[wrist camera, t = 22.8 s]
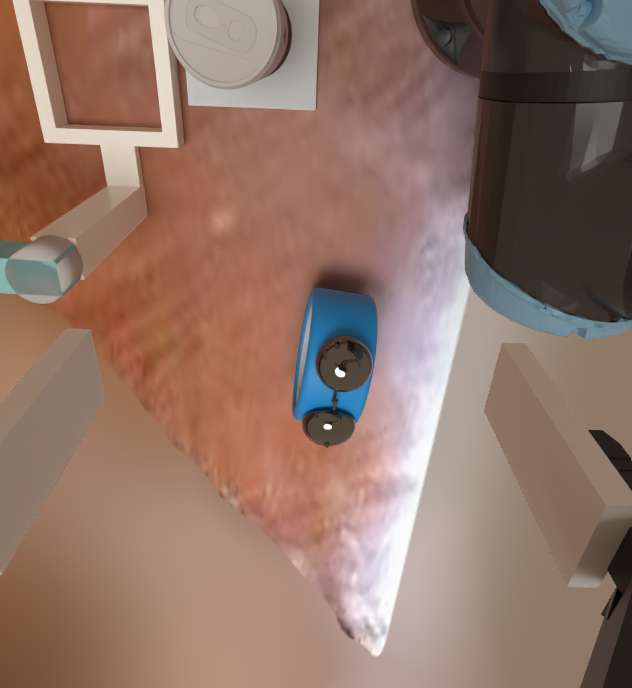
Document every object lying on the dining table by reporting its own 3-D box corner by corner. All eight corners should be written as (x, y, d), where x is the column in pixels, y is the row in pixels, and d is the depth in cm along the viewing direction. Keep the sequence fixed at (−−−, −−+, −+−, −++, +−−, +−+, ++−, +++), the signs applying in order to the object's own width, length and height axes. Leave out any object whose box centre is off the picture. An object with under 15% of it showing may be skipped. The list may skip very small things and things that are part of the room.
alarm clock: (313, 265, 51) (313, 338, 38) (372, 275, 52) (391, 350, 39) (294, 369, 58) (288, 461, 45) (345, 377, 58) (354, 470, 46)
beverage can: (226, -34, 38) (180, -78, 25) (305, 9, 40) (299, -13, 27) (200, 56, 41) (147, 58, 28) (274, 93, 43) (255, 110, 30)
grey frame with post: (170, -11, 39) (95, -41, 26) (191, 217, 49) (144, 281, 35) (24, -17, 39) (-128, -52, 26) (73, 212, 48) (-20, 276, 35)
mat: (320, -48, 38) (321, -49, 38) (315, 109, 44) (315, 110, 43) (176, -55, 38) (175, -57, 37) (190, 104, 44) (188, 105, 43)
